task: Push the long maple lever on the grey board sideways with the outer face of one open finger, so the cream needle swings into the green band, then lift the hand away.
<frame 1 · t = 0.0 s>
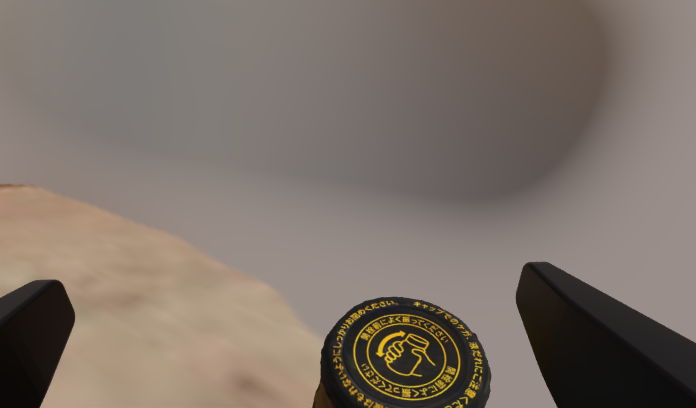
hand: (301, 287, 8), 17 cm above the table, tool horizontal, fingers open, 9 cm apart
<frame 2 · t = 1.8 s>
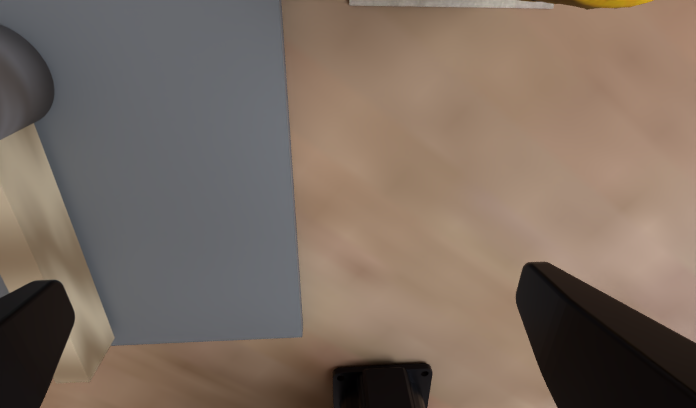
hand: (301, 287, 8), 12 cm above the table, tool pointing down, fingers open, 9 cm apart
grey board: (59, 116, 18), on the table
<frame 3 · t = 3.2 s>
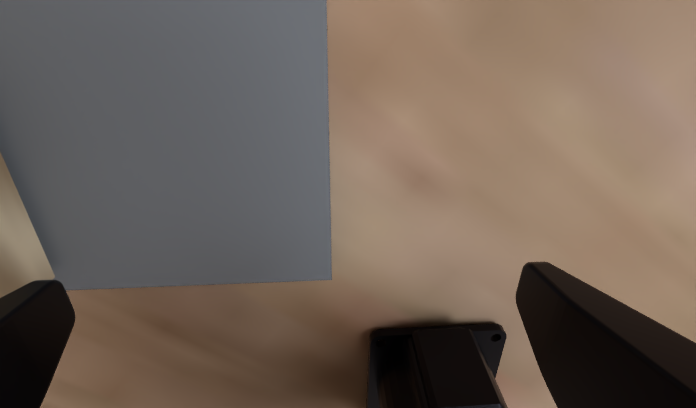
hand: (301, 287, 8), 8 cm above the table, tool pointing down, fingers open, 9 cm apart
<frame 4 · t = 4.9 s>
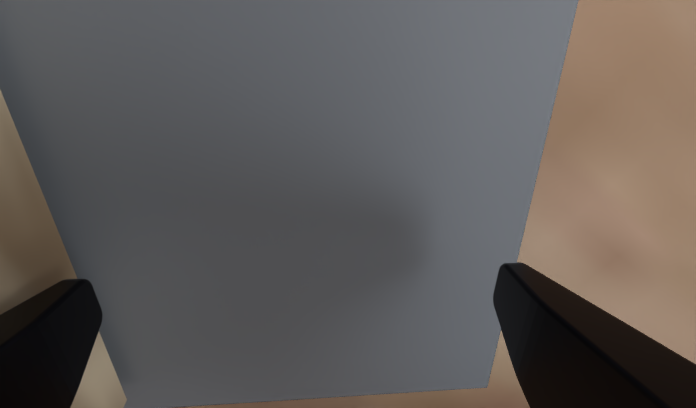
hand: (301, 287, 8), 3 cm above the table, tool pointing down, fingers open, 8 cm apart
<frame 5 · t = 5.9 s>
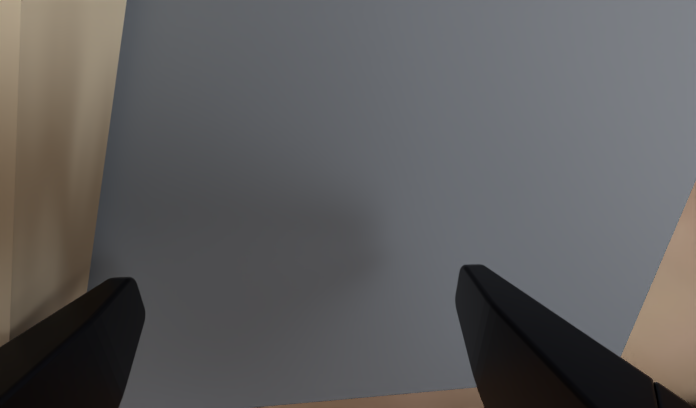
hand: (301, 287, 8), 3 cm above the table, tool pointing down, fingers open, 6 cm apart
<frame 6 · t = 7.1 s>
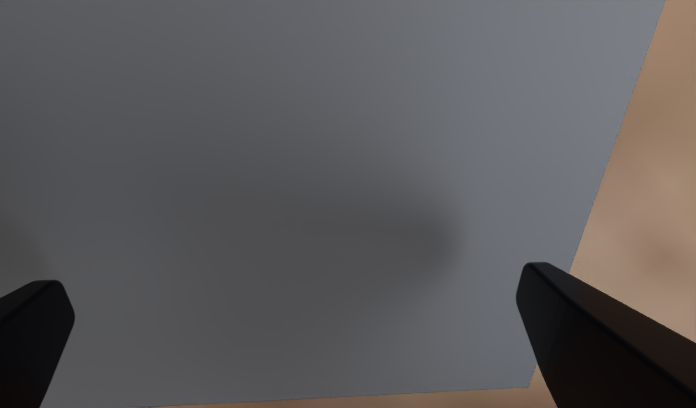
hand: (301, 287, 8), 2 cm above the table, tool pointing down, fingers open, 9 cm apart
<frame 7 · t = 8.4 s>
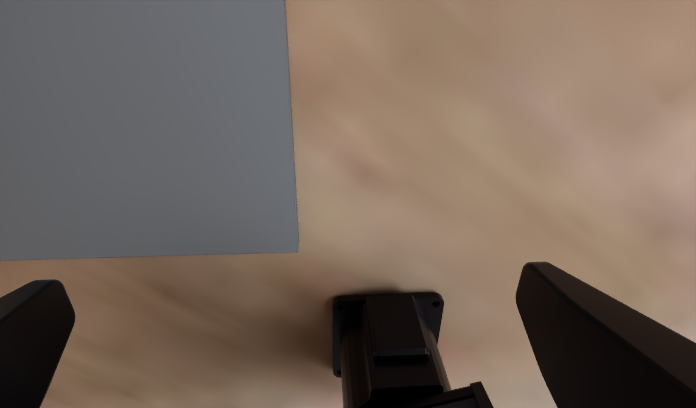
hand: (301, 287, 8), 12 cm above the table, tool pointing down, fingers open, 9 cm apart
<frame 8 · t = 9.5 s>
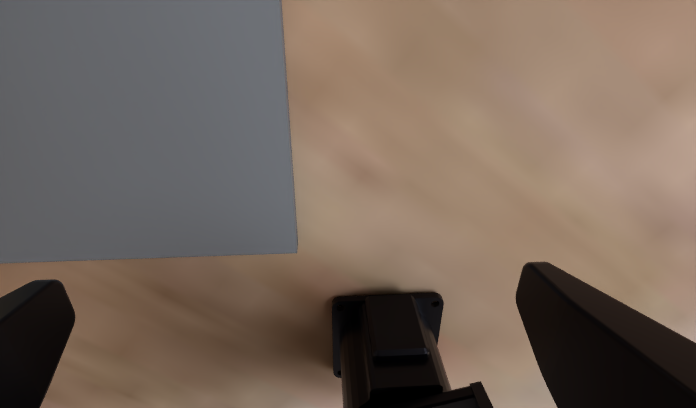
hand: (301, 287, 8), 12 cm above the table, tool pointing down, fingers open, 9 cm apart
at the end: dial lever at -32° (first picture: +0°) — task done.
